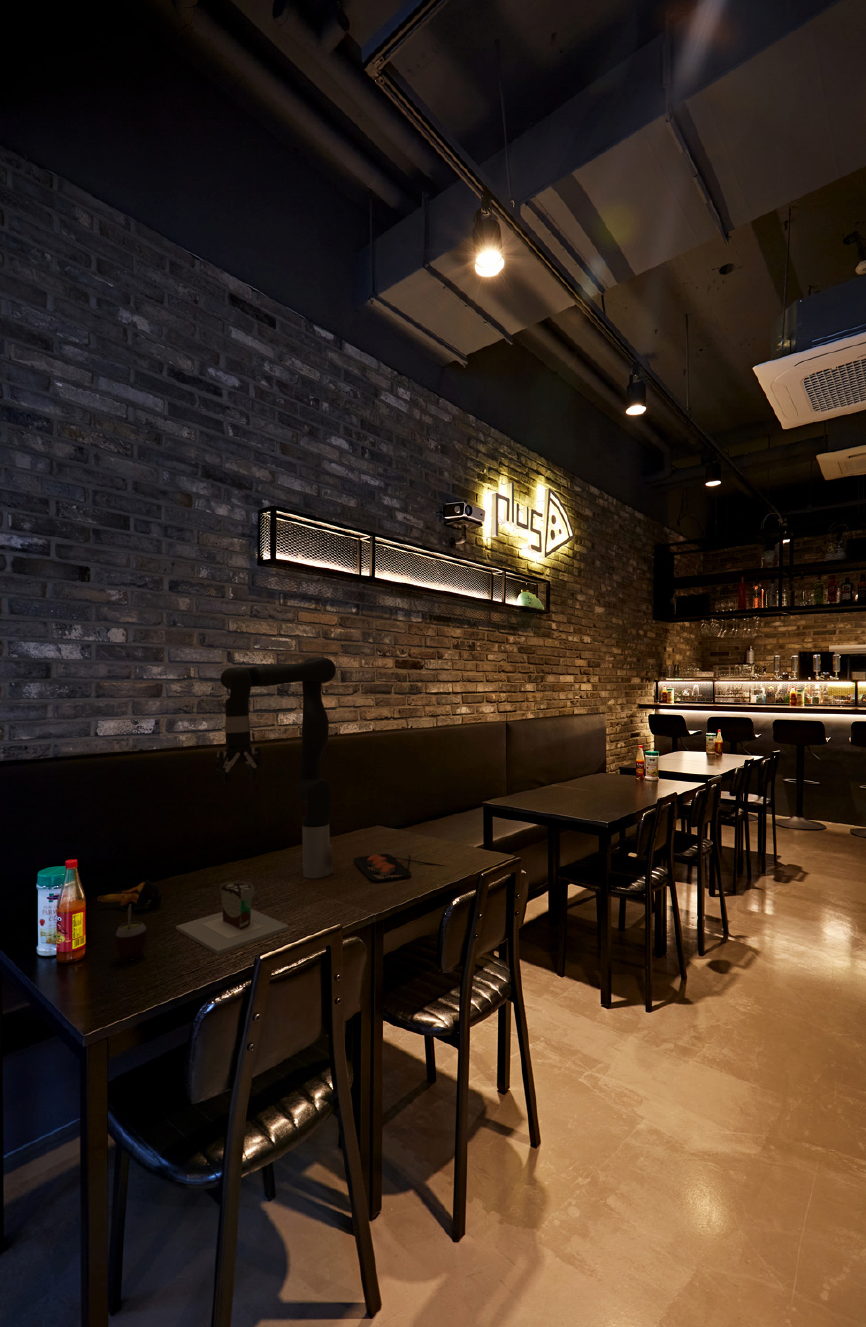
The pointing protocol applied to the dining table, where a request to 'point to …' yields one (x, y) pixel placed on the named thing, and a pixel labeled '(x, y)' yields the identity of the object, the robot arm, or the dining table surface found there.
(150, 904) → the fried shrimp in bowl
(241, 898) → the food container
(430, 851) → the dining table surface
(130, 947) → the mate gourd
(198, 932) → the dock
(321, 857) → the robot arm
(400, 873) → the sushi plate
